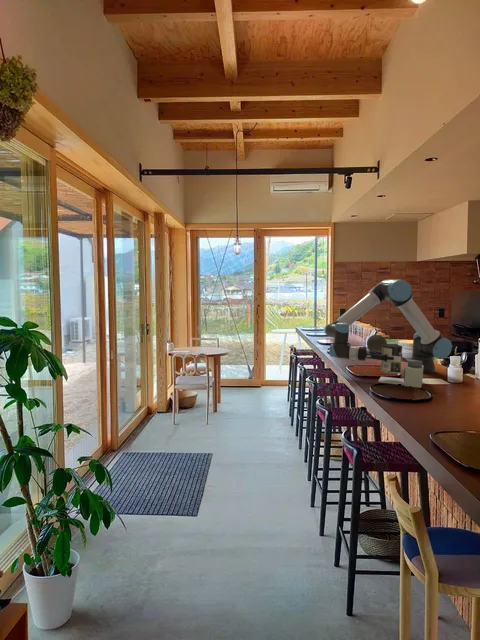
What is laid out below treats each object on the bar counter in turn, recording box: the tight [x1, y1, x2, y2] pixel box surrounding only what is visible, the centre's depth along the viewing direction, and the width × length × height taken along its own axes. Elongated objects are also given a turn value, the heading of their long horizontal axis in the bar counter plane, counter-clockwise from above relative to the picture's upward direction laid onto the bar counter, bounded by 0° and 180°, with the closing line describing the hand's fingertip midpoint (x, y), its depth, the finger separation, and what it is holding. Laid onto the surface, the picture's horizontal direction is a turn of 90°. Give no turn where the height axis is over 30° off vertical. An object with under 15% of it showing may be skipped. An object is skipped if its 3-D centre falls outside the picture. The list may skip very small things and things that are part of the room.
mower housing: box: [377, 359, 424, 389], centre depth 235 cm, size 21×16×12 cm
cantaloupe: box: [366, 334, 388, 352], centre depth 325 cm, size 14×14×15 cm
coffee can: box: [380, 343, 403, 375], centre depth 237 cm, size 10×10×14 cm
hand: (401, 357), depth 235 cm, fingers closed on coffee can, 10 cm apart
